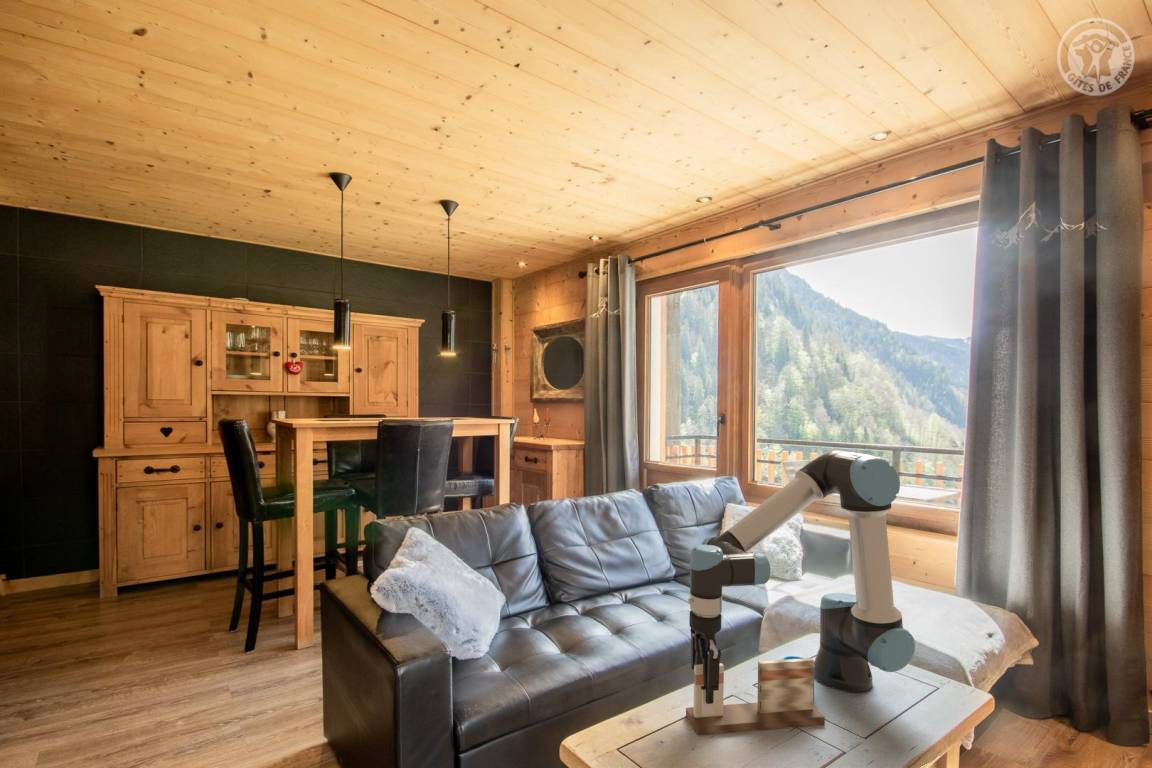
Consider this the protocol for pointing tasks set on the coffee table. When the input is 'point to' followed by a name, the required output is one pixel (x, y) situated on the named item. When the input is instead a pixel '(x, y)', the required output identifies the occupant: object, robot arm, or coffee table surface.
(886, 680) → the coffee table surface
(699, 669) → the stub
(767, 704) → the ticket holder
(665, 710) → the coffee table surface
